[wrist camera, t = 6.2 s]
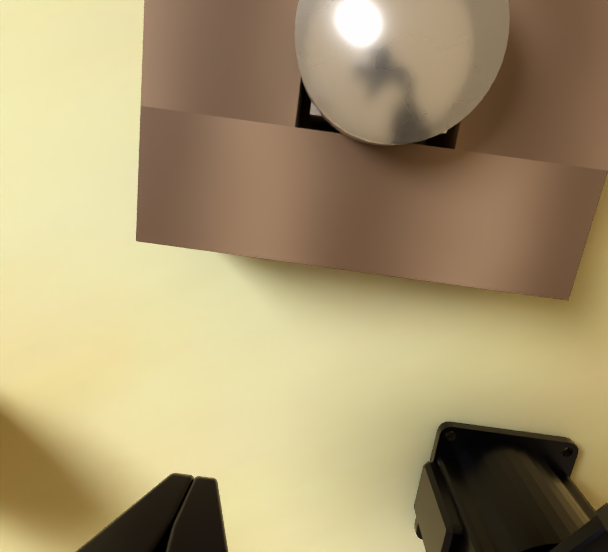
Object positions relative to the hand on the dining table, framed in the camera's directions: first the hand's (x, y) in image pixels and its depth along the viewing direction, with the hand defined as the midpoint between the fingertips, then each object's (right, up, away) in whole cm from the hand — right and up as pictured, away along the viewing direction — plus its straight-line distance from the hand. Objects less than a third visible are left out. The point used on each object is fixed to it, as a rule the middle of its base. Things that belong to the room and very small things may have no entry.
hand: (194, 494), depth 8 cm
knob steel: (+5, +11, +8) cm, 15 cm away
